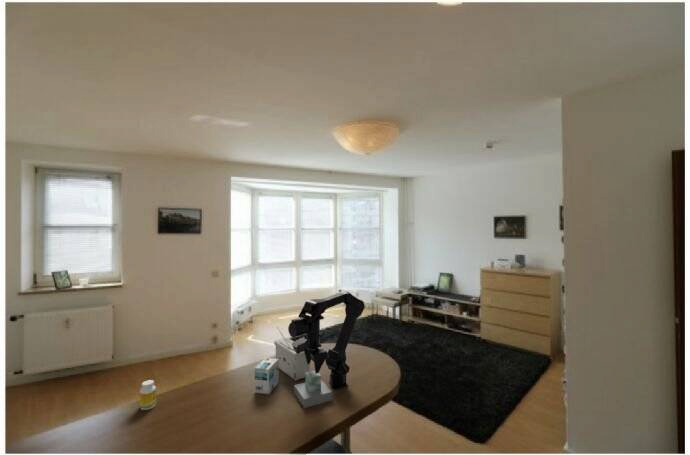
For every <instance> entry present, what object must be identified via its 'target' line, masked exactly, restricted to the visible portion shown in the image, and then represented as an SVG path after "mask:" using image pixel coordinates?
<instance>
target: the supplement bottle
mask: <svg viewBox="0 0 690 455" xmlns="http://www.w3.org/2000/svg"><path fill="white" fill-rule="evenodd" d="M139 400H140V401H139V406H140V407H139V408H140V409H141V410H142V411H147V410H148V411H149V410H150V409H153V408H154V407H155V406H156V405H157V387H156V385H155V381H154V380H153V379H149V380H144V381H143V382H142V383H141V388H140V390H139Z"/></svg>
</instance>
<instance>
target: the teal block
mask: <svg viewBox="0 0 690 455" xmlns="http://www.w3.org/2000/svg"><path fill="white" fill-rule="evenodd" d="M304 379H305V380H304V381H305V382H304V383H305V387H306V388H307V390H308V391H309V392H314V391H318V390H321V380H322V375H321V374H320V372H319V373H317V374H316V373H315V370H312V371H309V372H306V373H305V378H304Z"/></svg>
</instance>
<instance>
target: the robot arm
mask: <svg viewBox="0 0 690 455" xmlns="http://www.w3.org/2000/svg"><path fill="white" fill-rule="evenodd" d="M340 304H344V305H345V308H344V311H345V317H344V321H343V323H342V326H341V328H340V332H339V335H338V336H337V340H336V343H335V345H334V347H333V348H332V349H330V348H329V349H328V350H327V351H326V350H325V349H324V348H321V347H322V343H321V341H320V339H321V338H322V333H321V329H320V328H321V324H320V323H321V320H324V319H325V317H324V316H323V315H322V314H324V313H325V312H326V311H327V310H328V309H330V308H333V307H335V306H338V305H340ZM365 306H366V305H365V302H364V300H362V299H359V298H358V297H357V296H354V295H353V294H352V293H351V292H349V291H345V290H341V291H339V292H338V293H334V294H331V295H329V296H326V297H324V298H314V299H308V300H305V302H304V304H303V306H302V309H301V311H300V312H299V314H298V317H297V318H293V319H291V322H290V323H289V325H288V327H287V329H288V334H289V336H290V337H291V338H293V339H294V338H297V337H299V339H297V340H295V341H294V342H293V343H292V346H293V349H294V351H295V352H296V353H297V354H299V353H301V352H303V351H304V353H305V357H306V361H307V364H310V365H311V362H313V364H314V365H313V366H314V371H315V373H316V374H317V373H319V374H320V371H321V368H322V366H323V364H324V363H325V365H326V366H327V367H328V370H330V374H329V382H328V383H329V384H330V386H331V387H333V389H335V390H337V389H340V388H344V387H347V386H349V384H348V382H347V374H348V373H350V366H349V365H348V364H347V363H346V362H347V352H346V351H347V347H348V345H349V341H350V338H351V336H352V333H353V330H354V326H355V324H356V320H358V319H359V317H361V316H362V314H363V313H364V312H363V311H364V309H365ZM300 336H303V337H301V338H300Z"/></svg>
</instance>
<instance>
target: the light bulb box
mask: <svg viewBox="0 0 690 455" xmlns="http://www.w3.org/2000/svg"><path fill="white" fill-rule="evenodd" d="M278 384H279V360H278V359H276V358H270V357H264V358H263V359H262V361H260V363H258V364H257V365H256V366H255V367H254V393H255V394H256V393H257V394H264V395H270V394H271V392H272V391H273V390H274V389H275V387H276V386H277V385H278Z"/></svg>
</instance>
